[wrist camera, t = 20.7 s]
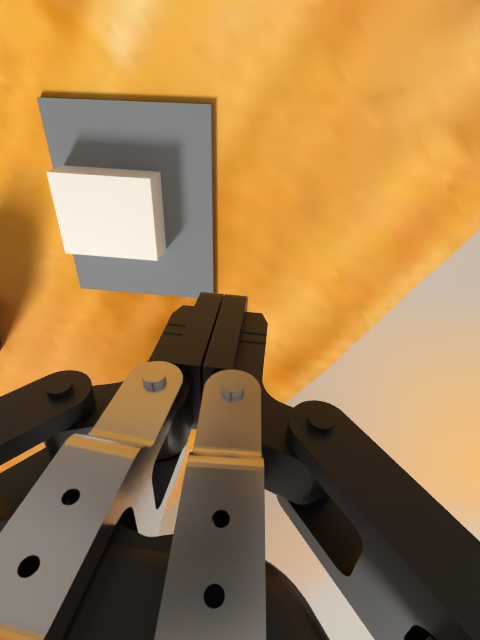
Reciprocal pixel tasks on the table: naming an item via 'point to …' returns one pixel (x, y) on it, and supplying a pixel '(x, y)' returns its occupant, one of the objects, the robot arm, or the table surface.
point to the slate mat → (148, 155)
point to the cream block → (109, 211)
